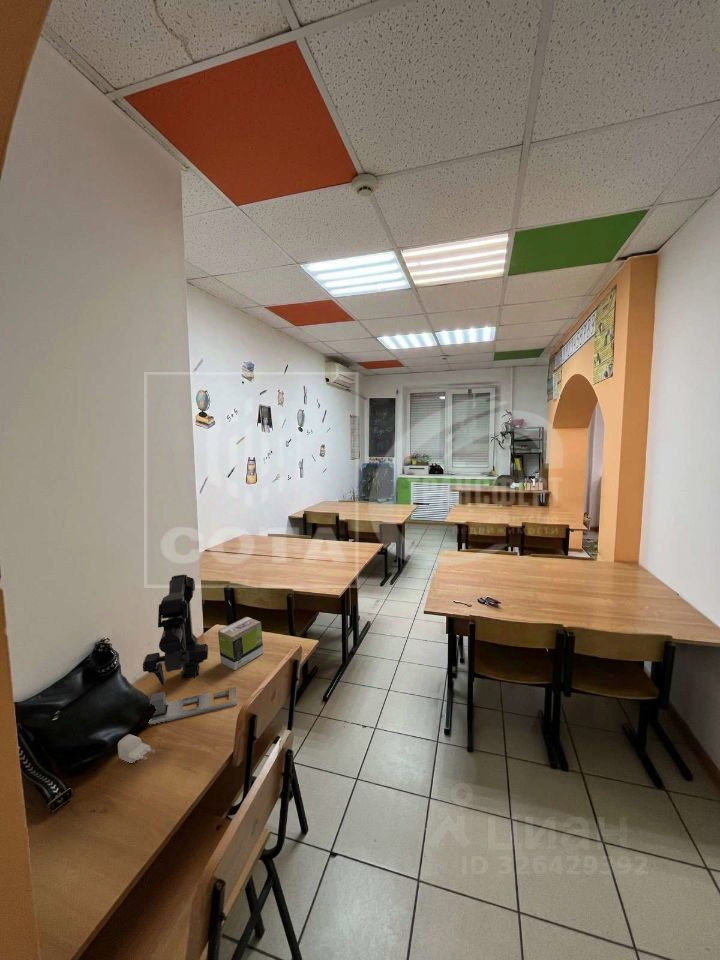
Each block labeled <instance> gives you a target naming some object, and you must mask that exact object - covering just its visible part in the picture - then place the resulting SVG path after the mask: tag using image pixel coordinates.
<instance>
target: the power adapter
mask: <svg viewBox="0 0 720 960" xmlns="http://www.w3.org/2000/svg"><path fill="white" fill-rule="evenodd" d="M117 752H118V758H119V759H120V758H121V759H122V760H125V761H127V762H129V763H133V762H134V763H136V762H137V761H140V759H141V760H144V761H147V759H148V757H146V756H145V755H146V754H147V753H148V752H149V753H151V754H155V750H154V749H151V745H149V744H147V743H144V742H143V741H142V739H141V738H140V737H139V736H135V735H133V734H130V733H128V734H126V735H125V736H123V737H122V738H121V739H120V740H118V743H117ZM122 760H121V761H122ZM136 760H137V761H136ZM125 761H124V762H125ZM135 761H136V762H135ZM127 762H126V763H127ZM129 763H128V764H129ZM134 763H133V764H134Z"/></svg>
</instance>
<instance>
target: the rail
mask: <svg viewBox="0 0 720 960" xmlns="http://www.w3.org/2000/svg"><path fill="white" fill-rule="evenodd" d="M236 688H237V686H234V687H227V688H223V689H218V690H214V691H213V690H212V691H210V692H208V693H202V694H199V695H194V696H190V697H189V696H188V697H185V698H181V699H175V700H171V701H166V709H167V711H166V715H163V716H158V717H154V718H151V719H150V720H149V722H148V723H149V724H154V725H157V724H156V723H158V724H161V723H160V722H163V723H166V722H165V721H167V722H169V721H174V720H178V719H182V718H183V719H184V718H187V717H191V716H195V715H200V714H204V713H208V712H212V711H216V710H220V709H224V708H225V709H226V708H229V707H234V706H237V689H236ZM225 696H228V699H226V700H225V699H224V700H221V701H216V702H215V698H219V697H225ZM193 703H198V706H197V707H194V708H189V709H184V707H185V706H186V705H190V704H193Z"/></svg>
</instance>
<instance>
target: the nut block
mask: <svg viewBox="0 0 720 960" xmlns="http://www.w3.org/2000/svg"><path fill="white" fill-rule="evenodd" d="M166 702H167V701H166V691H160V692H157V693H152V694H151V696H150V700H149V705H150V704H152V705H154V706H155V709H156V711H155V713H154V714H153V716H152V718H154V717H158V716H163V715H166V713H167V709H166Z"/></svg>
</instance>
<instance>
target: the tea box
mask: <svg viewBox="0 0 720 960" xmlns="http://www.w3.org/2000/svg"><path fill="white" fill-rule="evenodd" d="M262 629H263V628H262V622H261V621H259V620H256V619H253V618H252V617H249V616H245V617H243V618H241V619H239V620H237V621H234V622H233V623H231V624H229V625H226V626H225V627H223V628H221V629H218V632H217V635H218V647H219V657H220V663H221V664H223V665H224V666H226V667H228V668H230V669H232V670H234V671H236V670H238V669H240V668H241V667H243V666H244V665H247V664H248V663H249V662H251V661H252V660H254V659H256V658H258V657H259V656H261V655H262V654H264V644H263V631H262Z"/></svg>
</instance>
